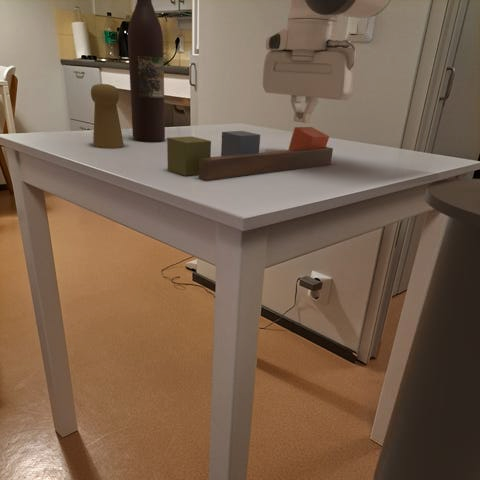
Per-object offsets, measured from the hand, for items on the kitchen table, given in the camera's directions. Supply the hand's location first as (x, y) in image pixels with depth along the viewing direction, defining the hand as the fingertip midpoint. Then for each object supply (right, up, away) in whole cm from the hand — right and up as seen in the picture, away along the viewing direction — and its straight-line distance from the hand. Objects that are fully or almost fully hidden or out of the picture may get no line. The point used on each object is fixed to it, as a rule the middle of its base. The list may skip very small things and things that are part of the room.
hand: (302, 122), depth 90 cm
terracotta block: (+1, -6, +2) cm, 7 cm away
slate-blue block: (-12, -9, -5) cm, 16 cm away
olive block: (-21, -15, -15) cm, 29 cm away
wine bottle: (-33, +1, +12) cm, 35 cm away
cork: (-39, -4, +2) cm, 39 cm away
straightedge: (-7, -13, -10) cm, 17 cm away
